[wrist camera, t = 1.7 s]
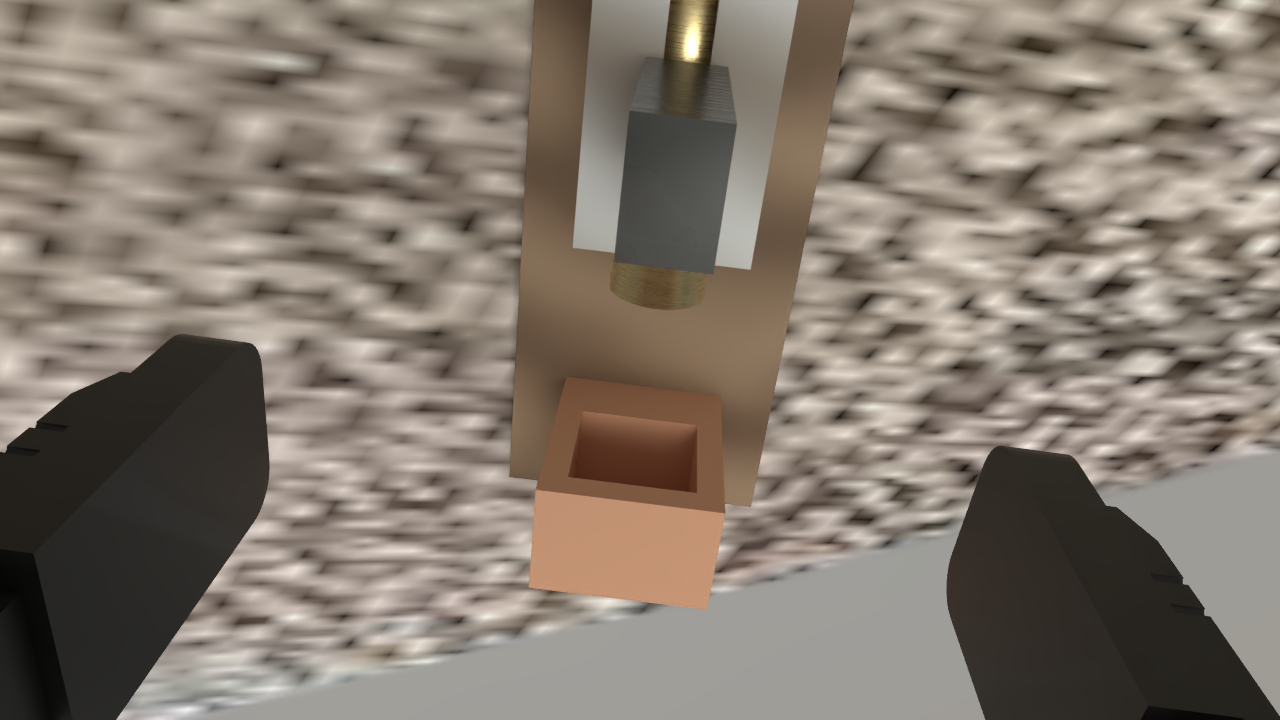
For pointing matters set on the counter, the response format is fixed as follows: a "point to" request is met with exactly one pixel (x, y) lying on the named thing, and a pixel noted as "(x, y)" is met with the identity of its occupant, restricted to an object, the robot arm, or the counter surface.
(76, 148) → the counter surface
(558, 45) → the sleeve stand
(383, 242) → the counter surface
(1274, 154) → the counter surface
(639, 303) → the gold and grey t-piece
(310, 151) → the counter surface
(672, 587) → the socket block
